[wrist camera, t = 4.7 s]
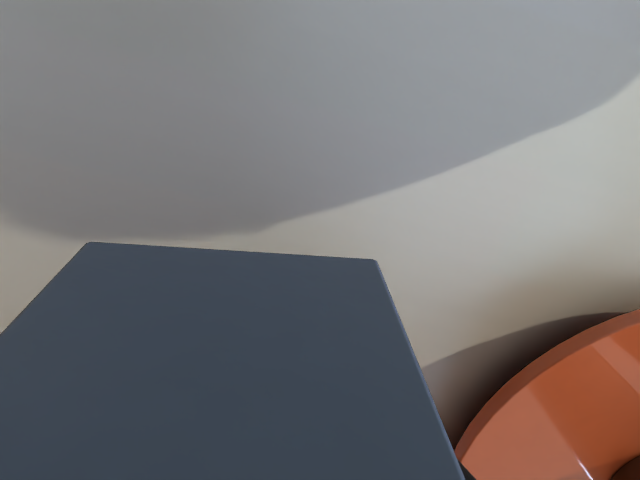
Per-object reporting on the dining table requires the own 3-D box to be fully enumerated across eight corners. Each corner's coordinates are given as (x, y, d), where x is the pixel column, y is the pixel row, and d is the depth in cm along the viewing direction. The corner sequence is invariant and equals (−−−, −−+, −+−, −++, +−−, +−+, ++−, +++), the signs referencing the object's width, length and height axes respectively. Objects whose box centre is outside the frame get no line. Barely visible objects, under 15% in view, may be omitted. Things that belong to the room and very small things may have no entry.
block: (86, 239, 7) (-209, 546, 3) (377, 257, 7) (495, 542, 3) (111, 452, 9) (-43, 826, 5) (342, 455, 9) (390, 796, 5)
